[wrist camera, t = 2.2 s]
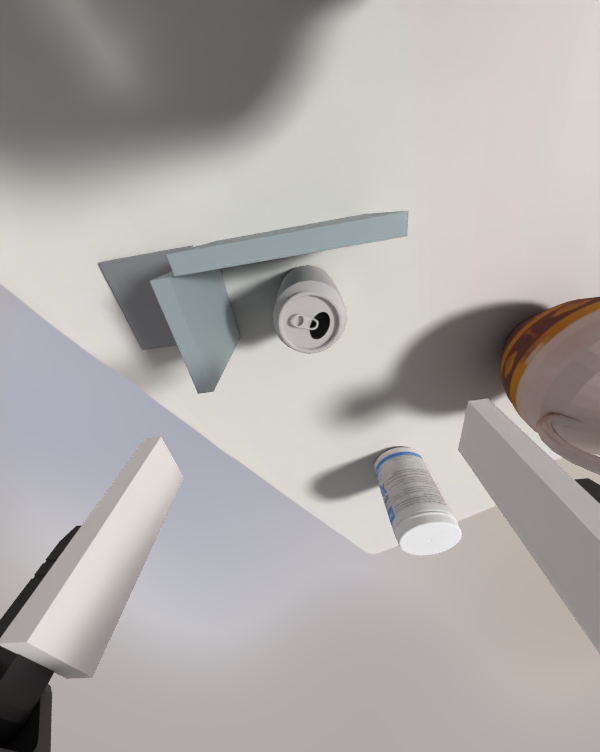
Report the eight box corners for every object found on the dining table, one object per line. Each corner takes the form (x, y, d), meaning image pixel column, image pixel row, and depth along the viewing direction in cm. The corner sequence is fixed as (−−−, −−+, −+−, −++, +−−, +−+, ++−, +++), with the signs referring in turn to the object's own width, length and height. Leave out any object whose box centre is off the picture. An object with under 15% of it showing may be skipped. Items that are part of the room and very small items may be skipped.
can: (322, 328, 38) (331, 369, 28) (272, 311, 37) (261, 347, 26) (344, 275, 34) (363, 300, 24) (288, 255, 33) (284, 271, 23)
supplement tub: (363, 461, 52) (384, 539, 39) (406, 436, 49) (443, 513, 36) (390, 484, 56) (417, 563, 43) (431, 463, 52) (474, 541, 40)
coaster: (101, 262, 33) (98, 262, 33) (192, 245, 32) (190, 245, 32) (144, 348, 39) (142, 349, 39) (222, 336, 38) (221, 337, 38)
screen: (199, 244, 32) (140, 259, 20) (365, 213, 31) (408, 210, 19) (229, 339, 39) (198, 393, 27) (368, 318, 37) (401, 365, 25)
